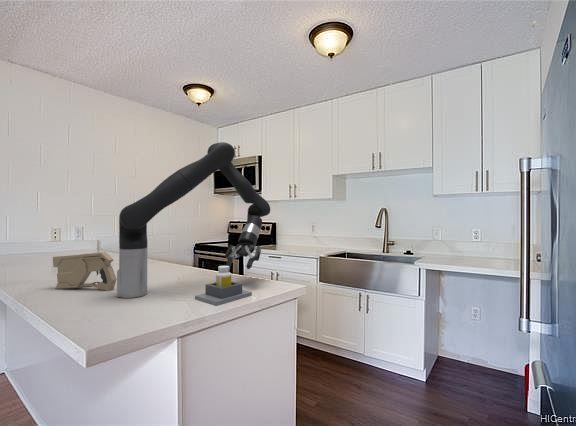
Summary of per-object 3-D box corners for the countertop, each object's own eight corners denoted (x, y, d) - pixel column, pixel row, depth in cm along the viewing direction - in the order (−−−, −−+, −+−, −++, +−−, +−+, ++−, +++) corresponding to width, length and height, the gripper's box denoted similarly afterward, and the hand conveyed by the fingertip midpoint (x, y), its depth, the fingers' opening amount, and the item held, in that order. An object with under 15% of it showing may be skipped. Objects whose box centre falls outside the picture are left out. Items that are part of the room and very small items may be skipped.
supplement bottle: (234, 292, 110) (234, 265, 110) (226, 296, 105) (226, 268, 105) (221, 291, 112) (221, 264, 112) (213, 294, 107) (213, 267, 107)
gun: (118, 288, 119) (114, 251, 119) (112, 291, 116) (109, 252, 116) (61, 292, 122) (58, 255, 122) (54, 294, 118) (51, 256, 118)
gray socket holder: (216, 305, 98) (216, 291, 98) (194, 299, 106) (194, 285, 106) (251, 295, 111) (251, 282, 111) (230, 290, 118) (230, 278, 118)
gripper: (231, 230, 130) (218, 260, 119) (262, 230, 126) (252, 262, 115) (237, 241, 135) (224, 271, 124) (266, 242, 131) (257, 273, 120)
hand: (237, 267), depth 119 cm, fingers open, 8 cm apart
